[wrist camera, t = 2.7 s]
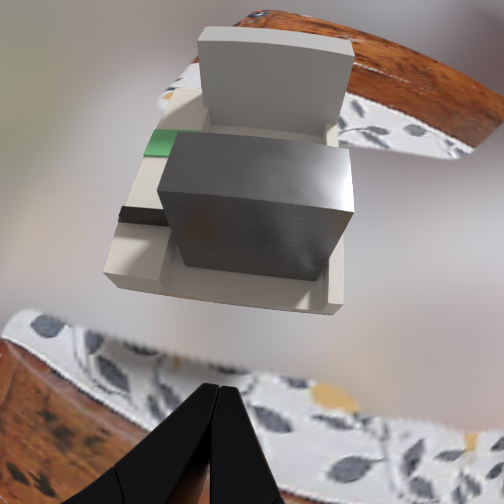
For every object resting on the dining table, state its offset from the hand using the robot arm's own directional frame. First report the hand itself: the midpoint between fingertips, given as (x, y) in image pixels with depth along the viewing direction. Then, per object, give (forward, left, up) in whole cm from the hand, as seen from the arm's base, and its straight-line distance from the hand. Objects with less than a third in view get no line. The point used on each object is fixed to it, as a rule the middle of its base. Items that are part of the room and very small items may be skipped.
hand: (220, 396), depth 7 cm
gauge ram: (+2, +10, -12) cm, 16 cm away
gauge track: (+5, +15, -13) cm, 21 cm away
